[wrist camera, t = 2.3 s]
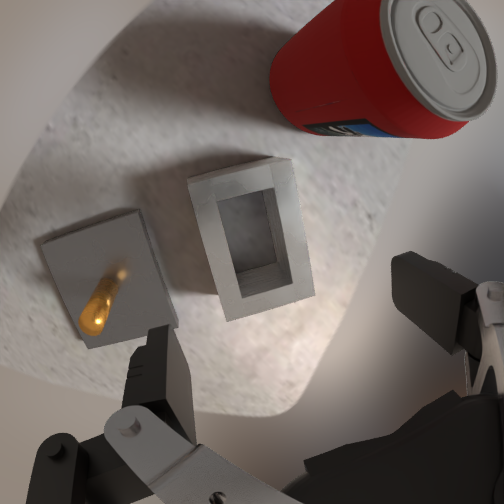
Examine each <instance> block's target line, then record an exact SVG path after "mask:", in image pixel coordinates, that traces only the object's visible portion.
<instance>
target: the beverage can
mask: <svg viewBox="0 0 504 504" xmlns="http://www.w3.org/2000/svg"><path fill="white" fill-rule="evenodd" d="M269 81H270V89H271V93H272V96H273V99H274V101H275V103H276V105H277V107H278V109H279V110H280V112H281V113H282V114H283V115H284V117H285V118H286V119H287V120H288V121H289V122H291V123H292V124H293V125H294V126H296V127H297V128H299V129H301V130H303V131H305V132H308V133H310V134H314V135H320V136H357V137H393V138H421V139H439V138H443V137H447V136H449V135H451V134H453V133H455V132H457V131H458V130H459V129H461V128H462V127H463V126H464V125H466V124H467V123H468V122H469V121H472V120H475V119H477V118H479V117H480V116H482V115H483V114H484V113H485V112H486V111H487V110H488V108H489V107H490V106H491V104H492V101H493V99H494V96H495V93H496V88H497V63H496V57H495V53H494V49H493V45H492V42H491V40H490V37H489V35H488V33H487V30H486V28H485V26H484V24H483V22H482V21H481V19H480V18H479V16H478V15H477V13H476V12H475V10H474V9H473V8H472V6H471V5H470V4H469V3H468V2H467V0H335V1H333V2H332V3H331V4H330V5H328V6H327V7H326V8H325V9H324V10H322V11H321V12H320V13H319V14H318V15H317V16H315V17H314V18H313V19H312V20H311V21H310V22H308V23H307V24H306V25H305V26H304V27H303V28H302V29H301V30H300V31H299V32H298V33H297V34H295V35H294V36H293V37H292V38H291V39H290V40H289V41H288V42H287V43H286V44H285V45H284V46H283V47H282V48H281V49H280V51H279V52H278V53H277V55H276V56H275V58H274V60H273V62H272V65H271V69H270V79H269Z"/></svg>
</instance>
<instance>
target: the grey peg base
mask: <svg viewBox="0 0 504 504" xmlns="http://www.w3.org/2000/svg"><path fill="white" fill-rule="evenodd" d="M40 246H41V249H42V251H43V254H44V257H45V259H46V262H47V264H48V267H49V269H50V271H51V274H52V276H53V279H54V281H55V283H56V285H57V288H58V290H59V292H60V294H61V297H62V299H63V301H64V303H65V305H66V307H67V309H68V311H69V314H70V316H71V318H72V320H73V322H74V324H75V326H76V328H77V329H78V331H79V333H80V335H81V337H82V339H83V341H84V343H85V345H86V346H87V348H88V349H92V348H96V347H101V346H105V345H110V344H114V343H118V342H123V341H127V340H131V339H135V338H140V337H144V336H148V330H149V329H151V328H155V327H159V326H163V325H167V324H171V325H172V327H173V329H175V328H178V321H179V320H178V318H177V315H176V312H175V310H174V307H173V304H172V302H171V299H170V296H169V294H168V291H167V288H166V286H165V283H164V280H163V277H162V274H161V272H160V269H159V266H158V263H157V260H156V257H155V254H154V251H153V248H152V245H151V242H150V239H149V236H148V233H147V230H146V227H145V223H144V220H143V217H142V214H141V211H140V209H139V210H135V211H132V212H129V213H126V214H123V215H120V216H117V217H114V218H110V219H107V220H104V221H101V222H98V223H95V224H92V225H90V226H87V227H84V228H81V229H78V230H75V231H72V232H69V233H67V234H64V235H61V236H58V237H56V238H53V239H50V240H47V241H45V242H44V243H43V244H42V245H40Z"/></svg>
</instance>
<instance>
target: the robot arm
mask: <svg viewBox="0 0 504 504" xmlns="http://www.w3.org/2000/svg"><path fill="white" fill-rule="evenodd" d="M391 273H392V274H391V275H392V298H393V302H394V304H395V306H396V308H397V309H398V310H399V311H400V312H401V313H402V314H404V315H405V316H406V317H407V318H408V319H410V320H411V321H412V322H413V323H415V324H416V325H417V326H418V327H419V328H420V329H422V330H423V331H424V332H425V333H426V334H427V335H429V336H430V337H431V338H432V339H433V340H434V341H436V342H437V343H438V344H439V345H440V346H441V347H443V348H444V349H445V350H446V351H447V352H448V353H449V354H450V355H454V354H456V353H457V352H459V351H461V350H462V349H465V350H466V354H465V370H466V382H467V396H466V397H462V398H461V397H459V395H458V394H457V393H456V392H455V391H454V390H452V391H450V392H448V393H446V394H445V395H443V396H442V397H440V398H438V399H436V400H435V401H433V402H432V403H430V404H428V405H426V406H424V407H423V408H422V409H420V410H419V411H418V412H417V413H416V414H415V415H414V416H413V417H412V418H411V419H409V420H408V421H407V422H406V423H405V424H403V425H402V426H401V427H400V428H399V429H398V430H396V431H395V432H394V433H392V434H390V435H387V436H383V437H379V438H374V439H370V440H365V441H361V442H356V443H351V444H346V445H343V446H341V447H338V448H336V449H334V450H331V451H328V452H325V453H323V454H320V455H317V456H314V457H312V458H309V459H306V460H304V465H305V470H306V472H305V473H303V474H301V475H300V476H298V477H297V478H295V479H294V480H292V481H291V482H290V483H289V484H287V485H286V486H285V487H284V488H283V489H282V490H281V491H278V490H276V489H274V488H273V487H271V486H269V485H267V484H265V483H264V482H262V481H260V480H258V479H257V478H255V477H253V476H252V475H250V474H248V473H247V472H245V471H243V470H242V469H240V468H239V467H237V466H236V465H234V464H232V463H231V462H229V461H228V460H226V459H224V458H223V457H222V456H220V455H219V454H217V453H216V452H214V451H213V450H211V449H210V448H208V447H207V446H205V445H203V444H198V445H197V442H196V432H195V421H194V410H193V398H192V385H191V375H190V370H189V366H188V363H187V361H186V358H185V356H184V353H183V351H182V349H181V346H180V344H179V341H178V339H177V337H176V334H175V332H174V329H173V327H172V325H171V324H167V325H163V326H159V327H155V328H151V329H149V330H148V336H147V342H146V345H144V346H140V347H138V348H137V349H136V351H135V352H134V353H133V355H132V356H131V358H130V363H129V370H128V373H127V379H126V384H125V390H124V395H123V401H122V408H121V409H120V410H118V411H117V412H115V413H114V414H112V416H111V417H110V418H109V419H108V420H107V422H106V424H105V426H104V433H103V434H101V435H99V436H96V437H94V438H91V439H89V440H86V441H83V442H81V443H79V442H78V441H77V440H76V439H75V437H73V436H72V435H71V434H68V433H58V434H55V435H52V436H50V437H49V438H47V439H46V440H45V441H44V442H43V443H42V444H41V445H40V447H39V449H38V451H37V454H36V458H35V462H34V466H33V471H32V475H31V480H30V484H29V489H28V495H27V500H26V504H130V503H133V502H135V501H138V500H141V499H143V498H146V497H148V496H151V495H153V494H156V496H158V497H159V498H160V499H161V500H162V501H163V502H164V503H165V504H504V283H501V282H496V281H489V282H484V283H482V284H480V285H478V284H476V283H474V282H473V281H471V280H469V279H467V278H465V277H464V276H462V275H460V274H458V273H455V271H453V270H451V269H449V268H448V269H447V267H446V266H444V265H442V264H440V263H438V262H435V261H431V260H428V259H426V258H424V257H422V256H420V255H418V254H417V253H415V252H412V251H409V252H406V253H403V254H400V255H397V256H394V257H393V258H392V261H391Z"/></svg>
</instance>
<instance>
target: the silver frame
mask: <svg viewBox="0 0 504 504" xmlns="http://www.w3.org/2000/svg"><path fill="white" fill-rule="evenodd" d="M187 186H188V190H189V194H190V198H191V201H192V205H193V209H194V212H195V216H196V220H197V223H198V227H199V230H200V234H201V237H202V241H203V244H204V248H205V251H206V255H207V258H208V262H209V265H210V268H211V272H212V275H213V278H214V282H215V285H216V288H217V292H218V295H219V298H220V302H221V305H222V308H223V311H224V314H225V318H226V321H227V322H229V321H232V320H236V319H239V318H243V317H246V316H250V315H253V314H256V313H260V312H263V311H267V310H270V309H273V308H277V307H280V306H283V305H286V304H290V303H293V302H296V301H299V300H302V299H305V298H309V297H312V296H315V290H314V283H313V277H312V270H311V264H310V258H309V252H308V246H307V240H306V234H305V228H304V222H303V217H302V211H301V206H300V200H299V195H298V190H297V184H296V179H295V174H294V169H293V164H292V159H287V158H280V157H270V158H265V159H261V160H256V161H252V162H248V163H244V164H239V165H235V166H231V167H227V168H223V169H219V170H216V171H212V172H208V173H204V174H200V175H197V176H193V177H189V178H188V179H187ZM260 190H262V193H263V198H264V202H265V207H266V211H267V216H268V221H269V225H270V230H271V235H272V240H273V244H274V249H275V254H276V259H277V262H276V263H272V264H269V265H265V266H262V267H258V268H255V269H251V270H248V271H244V272H241V273H237V274H235V270H234V267H233V263H232V259H231V255H230V251H229V248H228V244H227V240H226V236H225V232H224V228H223V225H222V221H221V217H220V213H219V209H218V205H217V202H218V201H221V200H225V199H229V198H233V197H236V196H240V195H244V194H248V193H252V192H256V191H260Z"/></svg>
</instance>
